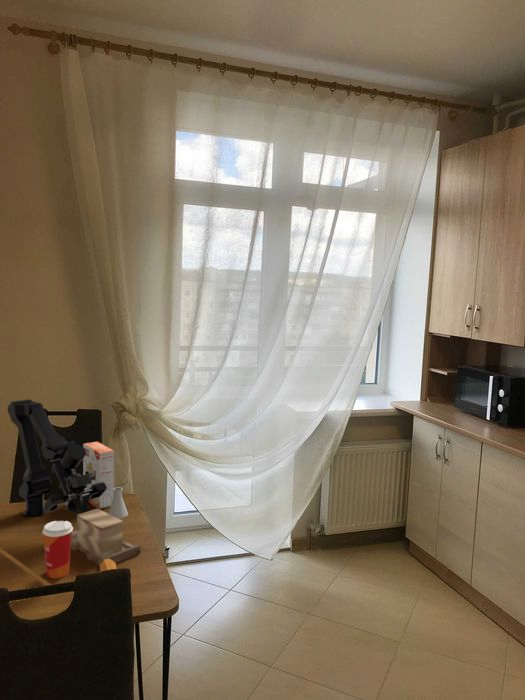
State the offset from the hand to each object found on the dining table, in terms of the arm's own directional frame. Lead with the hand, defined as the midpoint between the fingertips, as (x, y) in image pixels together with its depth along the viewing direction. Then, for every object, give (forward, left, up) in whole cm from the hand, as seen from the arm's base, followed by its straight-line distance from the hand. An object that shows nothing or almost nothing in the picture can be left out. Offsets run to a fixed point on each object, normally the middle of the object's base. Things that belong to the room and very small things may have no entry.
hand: (87, 520), depth 169 cm
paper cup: (+19, -5, -7) cm, 21 cm away
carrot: (+27, +10, -7) cm, 30 cm away
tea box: (+5, +4, -6) cm, 9 cm away
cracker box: (-32, -1, -7) cm, 32 cm away
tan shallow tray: (+4, +3, -7) cm, 8 cm away
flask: (-19, +7, -7) cm, 21 cm away
